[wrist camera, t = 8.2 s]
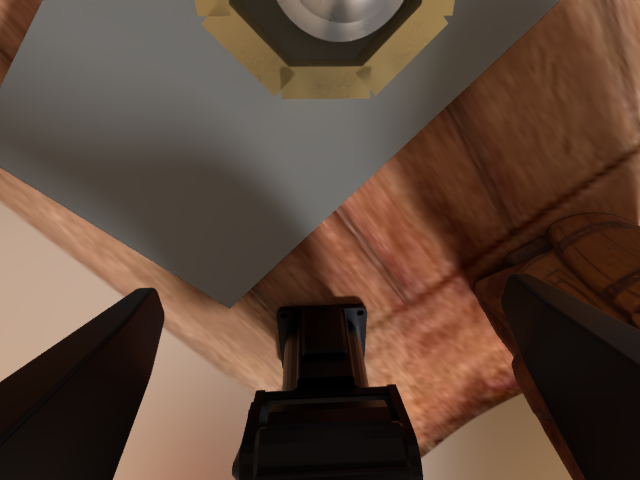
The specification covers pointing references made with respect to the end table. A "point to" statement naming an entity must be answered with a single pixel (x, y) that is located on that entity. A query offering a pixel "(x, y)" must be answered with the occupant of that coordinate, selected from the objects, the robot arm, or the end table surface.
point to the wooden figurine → (571, 289)
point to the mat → (216, 127)
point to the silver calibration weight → (339, 17)
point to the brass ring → (326, 74)
